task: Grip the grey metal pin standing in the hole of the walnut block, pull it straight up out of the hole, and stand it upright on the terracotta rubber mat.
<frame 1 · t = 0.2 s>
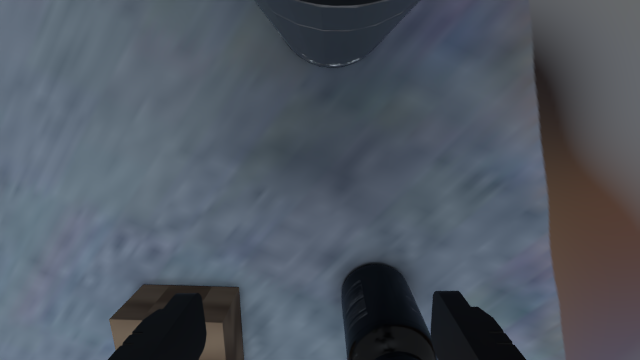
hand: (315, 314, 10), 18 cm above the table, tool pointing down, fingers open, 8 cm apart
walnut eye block: (195, 325, 32), on the table
supplement bottle: (374, 289, 31), on the table
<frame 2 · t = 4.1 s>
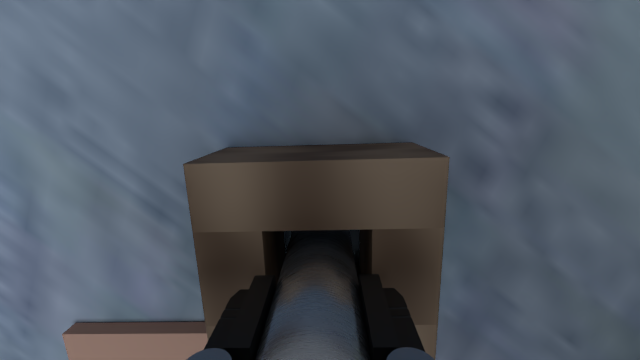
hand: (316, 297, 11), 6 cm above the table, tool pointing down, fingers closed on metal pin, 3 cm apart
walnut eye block: (321, 231, 17), on the table
metal pin: (315, 328, 10), in the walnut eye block, touching gripper
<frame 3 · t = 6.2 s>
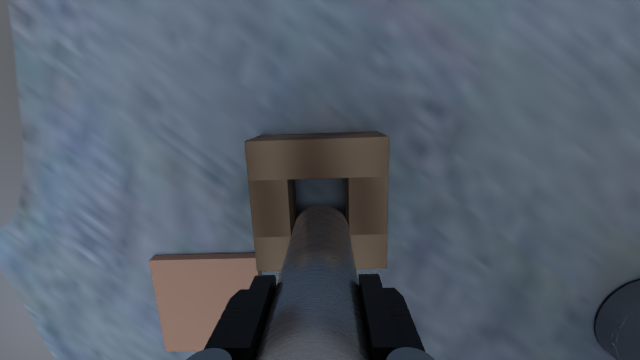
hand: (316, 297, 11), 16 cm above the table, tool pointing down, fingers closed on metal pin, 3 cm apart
terracotta mat: (213, 300, 29), on the table
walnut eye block: (320, 189, 26), on the table
metal pin: (315, 328, 10), point 17 cm above the table, touching gripper
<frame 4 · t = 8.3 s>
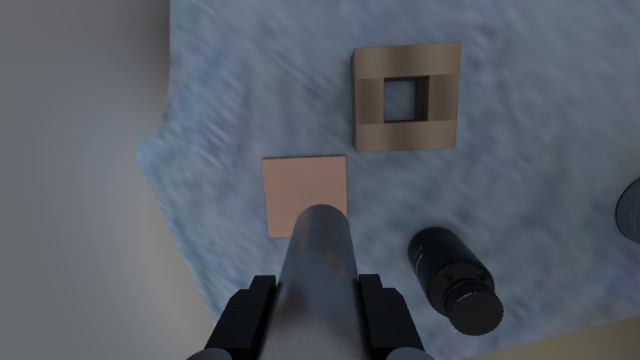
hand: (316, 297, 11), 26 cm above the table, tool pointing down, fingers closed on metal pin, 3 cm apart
terracotta mat: (306, 196, 37), on the table
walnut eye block: (395, 101, 34), on the table
supplement bottle: (433, 250, 38), on the table
metal pin: (316, 326, 10), point 28 cm above the table, touching gripper
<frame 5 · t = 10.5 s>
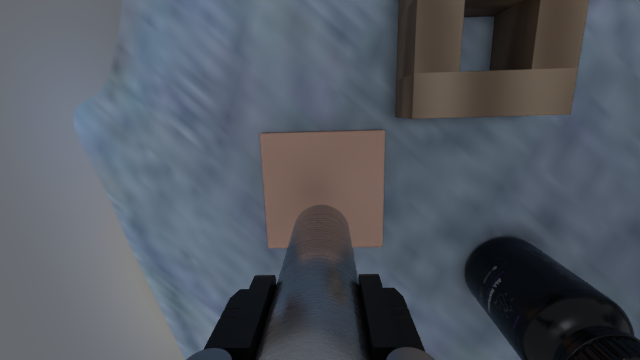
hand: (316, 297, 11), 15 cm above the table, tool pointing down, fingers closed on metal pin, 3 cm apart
terracotta mat: (323, 189, 26), on the table
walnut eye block: (462, 48, 23), on the table
supplement bottle: (499, 269, 27), on the table
metal pin: (315, 327, 10), point 17 cm above the table, touching gripper
when the fingers open (9 cm above the table, at t = 12.4 s): metal pin drops 2 cm, resting on terracotta mat.
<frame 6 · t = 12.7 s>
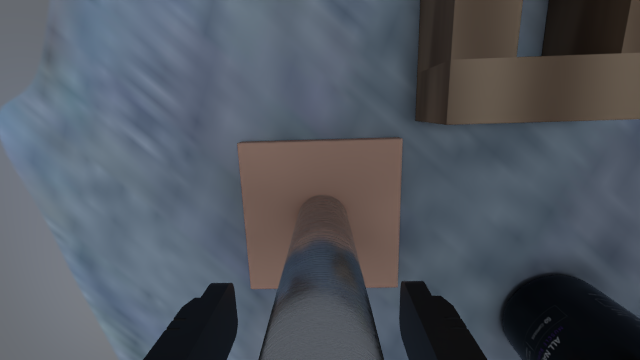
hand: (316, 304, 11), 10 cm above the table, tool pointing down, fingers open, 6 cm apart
terracotta mat: (321, 213, 20), on the table
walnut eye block: (506, 30, 17), on the table
supplement bottle: (544, 312, 22), on the table
metal pin: (322, 285, 11), on the terracotta mat, point 9 cm above the table
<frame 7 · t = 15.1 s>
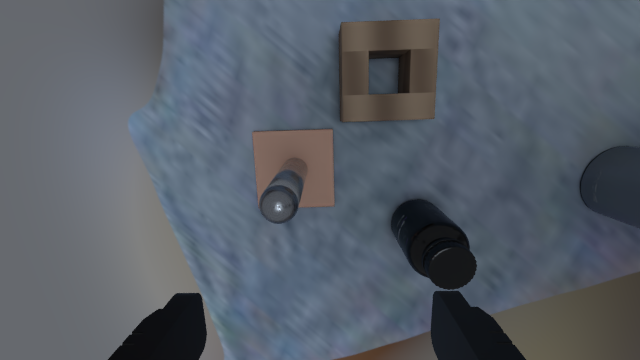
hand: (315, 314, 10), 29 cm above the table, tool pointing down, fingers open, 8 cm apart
terracotta mat: (295, 168, 39), on the table
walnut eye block: (380, 77, 36), on the table
supplement bottle: (414, 221, 41), on the table
metal pin: (287, 185, 30), on the terracotta mat, point 9 cm above the table
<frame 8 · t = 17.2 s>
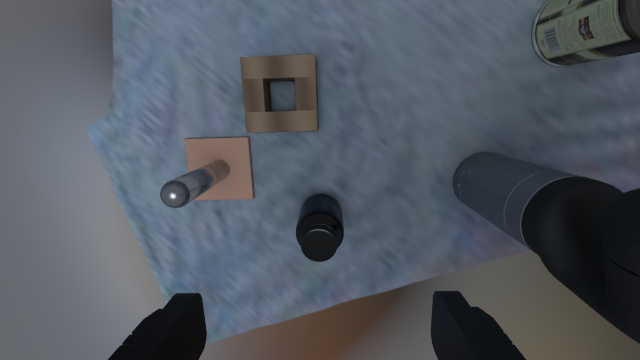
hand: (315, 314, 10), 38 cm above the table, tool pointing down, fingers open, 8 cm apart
terracotta mat: (221, 168, 48), on the table
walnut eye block: (284, 96, 45), on the table
supplement bottle: (321, 212, 50), on the table
metal pin: (199, 181, 40), on the terracotta mat, point 9 cm above the table
coffee can: (566, 29, 42), on the table
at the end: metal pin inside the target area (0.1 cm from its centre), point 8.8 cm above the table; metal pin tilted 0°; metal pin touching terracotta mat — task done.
